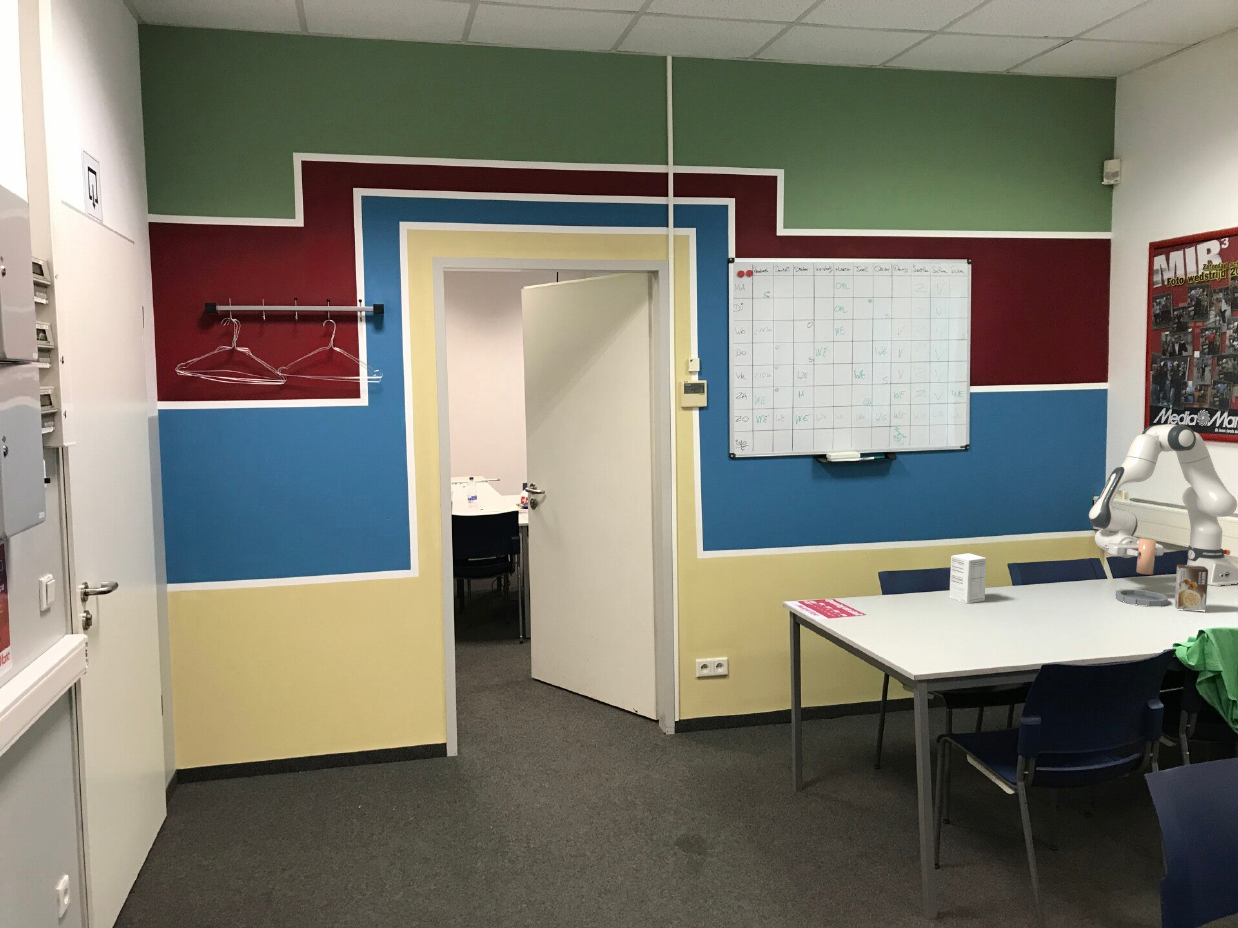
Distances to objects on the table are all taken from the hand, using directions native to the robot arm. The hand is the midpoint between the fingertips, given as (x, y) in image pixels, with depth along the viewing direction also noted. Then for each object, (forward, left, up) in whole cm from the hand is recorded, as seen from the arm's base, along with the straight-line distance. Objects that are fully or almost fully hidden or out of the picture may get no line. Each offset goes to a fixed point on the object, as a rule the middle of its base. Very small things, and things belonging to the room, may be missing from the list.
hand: (1147, 553), depth 352 cm
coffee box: (-7, +16, -18) cm, 25 cm away
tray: (+3, +3, -17) cm, 18 cm away
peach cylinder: (0, -1, -7) cm, 8 cm away
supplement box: (+69, -3, -18) cm, 72 cm away
